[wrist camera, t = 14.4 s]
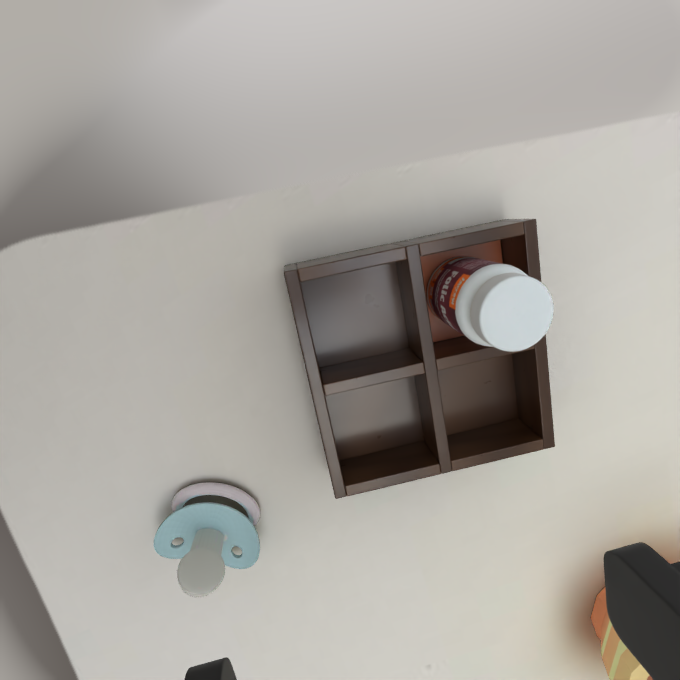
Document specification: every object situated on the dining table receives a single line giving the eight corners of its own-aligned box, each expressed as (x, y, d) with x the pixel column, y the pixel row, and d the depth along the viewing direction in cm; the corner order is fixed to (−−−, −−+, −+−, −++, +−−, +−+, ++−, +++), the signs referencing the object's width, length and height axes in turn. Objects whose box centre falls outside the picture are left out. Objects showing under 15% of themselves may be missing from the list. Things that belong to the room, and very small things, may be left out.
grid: (330, 468, 35) (335, 499, 31) (283, 265, 31) (283, 271, 27) (525, 422, 36) (555, 446, 32) (505, 219, 32) (536, 218, 28)
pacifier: (174, 469, 34) (157, 541, 35) (150, 520, 28) (131, 606, 29) (273, 488, 35) (254, 557, 36) (270, 541, 29) (248, 622, 30)
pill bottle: (422, 260, 31) (470, 273, 23) (491, 251, 32) (562, 262, 23) (427, 329, 32) (473, 365, 24) (493, 320, 33) (561, 352, 25)
